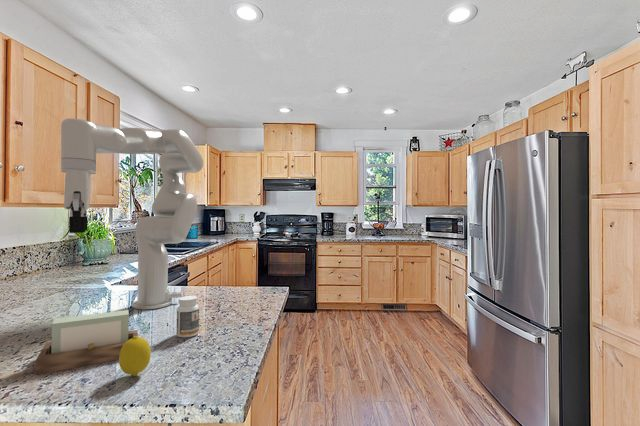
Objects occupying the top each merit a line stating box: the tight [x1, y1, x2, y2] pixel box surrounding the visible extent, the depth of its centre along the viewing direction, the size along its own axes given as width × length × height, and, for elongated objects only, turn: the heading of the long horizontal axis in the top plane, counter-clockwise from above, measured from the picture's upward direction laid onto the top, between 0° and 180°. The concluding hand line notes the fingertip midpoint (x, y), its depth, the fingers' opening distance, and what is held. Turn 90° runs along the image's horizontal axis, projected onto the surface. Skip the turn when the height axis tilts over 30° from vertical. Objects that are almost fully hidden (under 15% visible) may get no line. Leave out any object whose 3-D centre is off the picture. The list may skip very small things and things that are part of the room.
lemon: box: [118, 335, 152, 377], centre depth 65 cm, size 6×6×8 cm
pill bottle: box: [175, 295, 200, 338], centre depth 88 cm, size 6×6×10 cm
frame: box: [51, 309, 130, 354], centre depth 74 cm, size 14×4×8 cm, turn 121°
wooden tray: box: [35, 329, 139, 376], centre depth 74 cm, size 18×10×4 cm, turn 121°
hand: (78, 231), depth 86 cm, fingers open, 9 cm apart
